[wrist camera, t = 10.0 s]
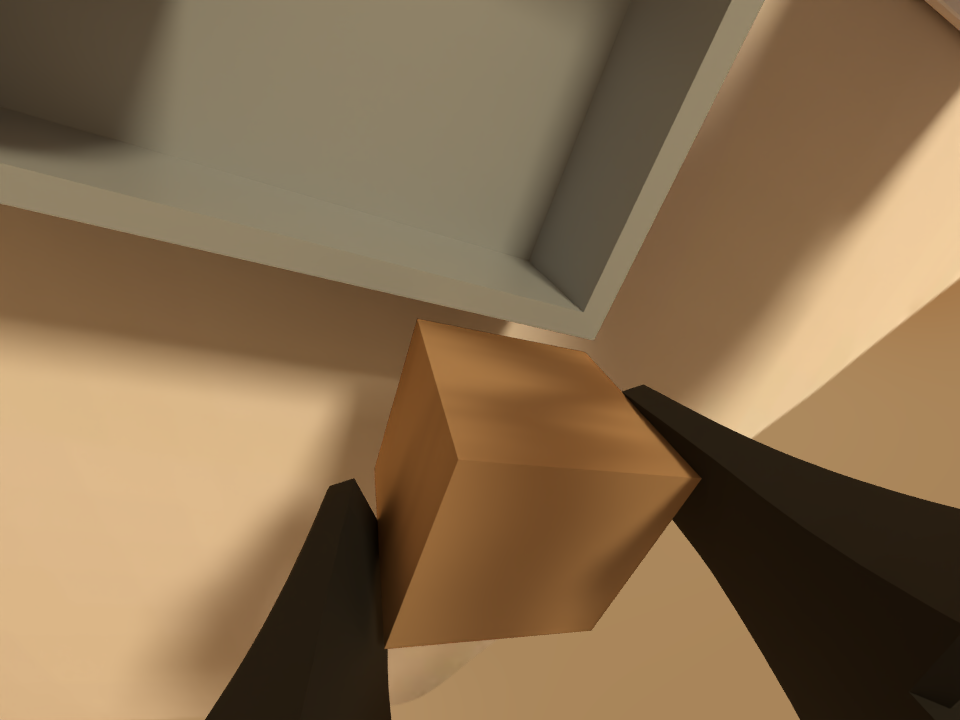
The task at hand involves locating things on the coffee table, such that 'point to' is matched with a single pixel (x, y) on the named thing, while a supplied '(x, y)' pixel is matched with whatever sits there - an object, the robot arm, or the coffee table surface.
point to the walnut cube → (513, 490)
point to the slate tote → (372, 135)
